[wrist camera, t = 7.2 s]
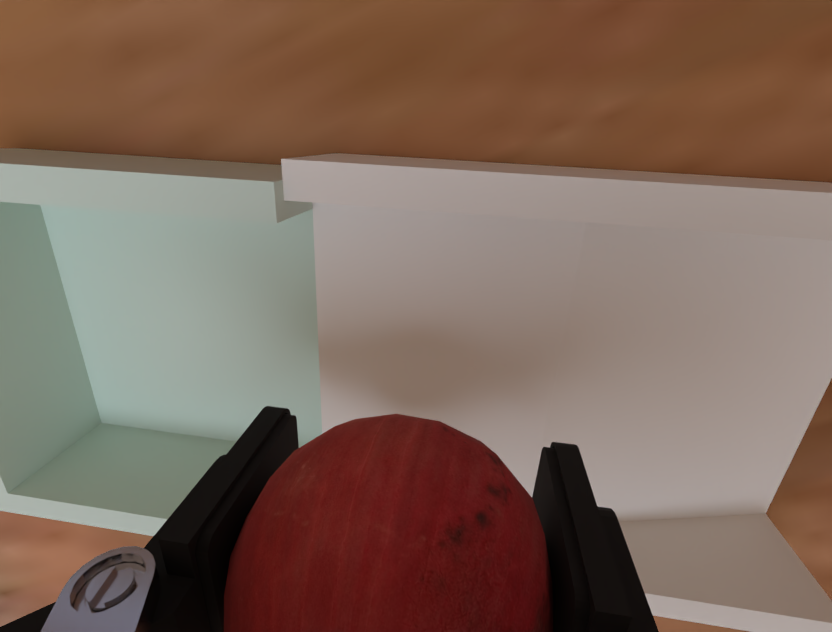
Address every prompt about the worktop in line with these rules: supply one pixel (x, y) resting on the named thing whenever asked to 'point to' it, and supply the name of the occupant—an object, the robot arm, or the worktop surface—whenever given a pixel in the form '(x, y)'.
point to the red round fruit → (391, 538)
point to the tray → (145, 327)
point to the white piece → (595, 345)
